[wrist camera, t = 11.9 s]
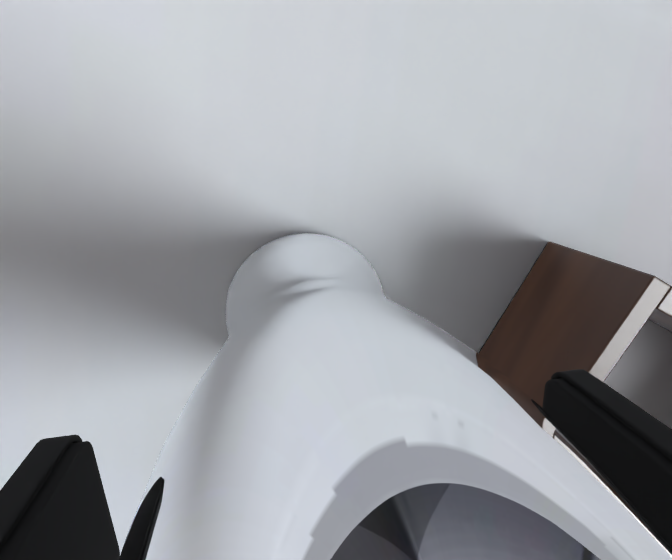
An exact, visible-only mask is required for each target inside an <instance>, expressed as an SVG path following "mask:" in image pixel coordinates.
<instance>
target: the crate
mask: <svg viewBox="0 0 672 560" xmlns="http://www.w3.org/2000/svg"><path fill="white" fill-rule="evenodd" d="M648 319H649V320H651V321H653V322H654V323H656V324H658V325H660V326H662V327H663V328H665V329H667V330H669V331H671V332H672V286H670V285H669V284H667V283H665V282H664V281H662V280H660V279H659V278H657V277H655V276H653V275H650V274H647V273H644V272H641V271H638V270H635V269H632V268H629V267H626V266H623V265H620V264H617V263H614V262H611V261H608V260H604V259H601V258H598V257H595V256H592V255H589V254H586V253H583V252H580V251H577V250H574V249H571V248H568V247H565V246H562V245H559V244H556V243H553V242H548V244H547V245H546V247H545V248H544V250H543V252H542V253H541V255H540V256H539V258H538V260H537V261H536V263H535V264H534V266H533V268H532V269H531V271H530V272H529V274H528V276H527V277H526V279H525V280H524V282H523V284H522V285H521V287H520V288H519V290H518V292H517V293H516V295H515V296H514V298H513V300H512V301H511V303H510V304H509V306H508V308H507V309H506V311H505V312H504V314H503V315H502V317H501V319H500V320H499V322H498V323H497V325H496V327H495V328H494V330H493V331H492V333H491V335H490V336H489V338H488V339H487V341H486V343H485V344H484V346H483V347H482V349H481V351H480V352H479V354H480V355H481V356H483V357H484V358H486V359H487V360H488V361H489V362H491V363H492V364H493V365H494V366H495V367H496V368H497V369H499V370H500V371H501V372H502V373H503V374H504V375H505V376H507V377H508V378H509V379H510V380H511V381H512V382H514V383H515V384H516V385H517V386H518V387H519V388H520V389H522V390H523V391H524V392H525V393H526V394H527V395H528V396H530V397H531V398H532V399H533V400H534V401H535V402H536V403H538V404H539V405H540V406H541V407H542V405H543V397H544V389H545V384H546V382H547V381H549V380H550V379H551V376H552V375H553V374H554V373H556V372H561V371H569V370H576V369H583V370H585V371H587V372H589V373H590V374H592V375H593V376H595V377H596V378H598V379H599V380H600V381H602V382H604V381H605V379H606V378H607V376H608V375H609V373H610V372H611V371H612V369H613V368H614V366H615V365H616V364H617V362H618V361H619V359H620V358H621V356H622V355H623V354H624V352H625V351H626V349H627V348H628V347H629V345H630V344H631V342H632V341H633V339H634V338H635V337H636V335H637V334H638V332H639V331H640V330H641V328H642V327H643V325H644V324H645V322H646V321H647V320H648Z"/></svg>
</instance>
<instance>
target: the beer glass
mask: <svg viewBox="0 0 672 560" xmlns="http://www.w3.org/2000/svg"><path fill="white" fill-rule="evenodd" d="M225 317H226V325H227V331H228V335H229V338H228V339H227V341H226V342H225V344H224V345H223V346H222V348H221V349H220V351H219V352H218V354H217V355H216V356H215V358H214V359H213V361H212V362H211V364H210V365H209V367H208V368H207V370H206V371H205V373H204V374H203V376H202V377H201V379H200V380H199V382H198V384H197V385H196V387H195V388H194V390H193V392H192V394H191V395H190V397H189V399H188V401H187V403H186V404H185V406H184V408H183V410H182V412H181V414H180V415H179V417H178V419H177V421H176V423H175V424H174V426H173V428H172V430H171V432H170V434H169V435H168V437H167V439H166V441H165V443H164V445H163V447H162V449H161V451H160V454H159V456H158V459H157V461H156V464H155V466H154V469H153V471H152V474H151V476H150V479H149V481H148V484H147V486H146V489H145V491H144V494H143V496H142V499H141V501H140V504H139V506H138V509H137V511H136V514H135V516H134V519H133V521H132V524H131V526H130V529H129V531H128V534H127V537H126V540H125V543H124V546H123V549H122V552H121V555H120V559H119V560H672V541H671V540H670V539H669V538H668V537H667V536H666V535H665V534H664V533H663V532H662V530H661V529H660V528H659V527H658V526H657V525H656V524H655V523H654V522H653V521H652V520H651V518H650V517H649V516H648V515H647V514H646V513H645V512H644V511H643V510H642V509H641V508H640V506H639V505H638V504H637V503H636V502H635V501H634V500H633V499H632V498H631V497H630V496H629V494H628V493H627V492H626V491H625V490H624V489H623V488H622V487H621V486H620V485H619V484H618V483H617V482H616V481H615V480H614V479H613V478H612V477H611V476H610V475H609V474H608V473H607V472H606V471H605V470H604V469H603V468H602V467H601V466H600V465H599V464H598V463H597V462H596V461H595V460H594V459H593V458H592V457H591V456H590V455H589V454H588V453H587V452H586V451H585V450H584V449H583V448H582V447H581V446H580V445H579V444H578V443H577V442H576V440H575V439H574V438H573V437H572V436H571V435H570V434H569V433H568V432H567V431H566V430H565V429H564V428H563V427H562V426H561V425H560V424H559V423H558V422H557V421H556V420H555V419H554V418H553V417H552V416H551V415H550V414H549V413H548V412H547V411H546V410H544V409H543V408H542V407H541V406H540V405H539V404H538V403H536V402H535V401H534V400H533V399H532V398H531V397H530V396H528V395H527V394H526V393H525V392H524V391H523V390H522V389H520V388H519V387H518V386H517V385H516V384H515V383H514V382H512V381H511V380H510V379H509V378H508V377H507V376H505V375H504V374H503V373H502V372H501V371H500V370H499V369H497V368H496V367H495V366H494V365H493V364H492V363H491V362H489V361H488V360H487V359H486V358H484V357H483V356H481V355H480V354H479V353H477V352H476V351H474V350H473V349H471V348H470V347H468V346H467V345H465V344H464V343H462V342H461V341H459V340H458V339H456V338H455V337H453V336H452V335H450V334H449V333H447V332H446V331H445V330H443V329H442V328H440V327H439V326H437V325H435V324H434V323H432V322H430V321H428V320H426V319H425V318H423V317H421V316H419V315H417V314H416V313H414V312H412V311H410V310H408V309H407V308H405V307H403V306H401V305H399V304H397V303H395V302H393V301H391V300H389V299H387V298H386V297H385V294H384V291H383V287H382V284H381V282H380V279H379V277H378V275H377V273H376V271H375V270H374V268H373V267H372V265H371V264H370V263H369V261H368V260H367V259H366V258H365V257H364V256H363V255H362V254H361V253H360V252H359V251H357V250H356V249H355V248H353V247H352V246H350V245H349V244H347V243H345V242H343V241H341V240H339V239H336V238H334V237H331V236H327V235H322V234H315V233H300V234H293V235H288V236H284V237H281V238H278V239H276V240H273V241H271V242H269V243H267V244H265V245H264V246H262V247H260V248H259V249H258V250H256V251H255V252H254V253H253V254H251V255H250V256H249V257H248V258H247V259H246V260H245V261H244V263H243V264H242V265H241V266H240V268H239V269H238V271H237V272H236V274H235V276H234V278H233V280H232V282H231V284H230V287H229V290H228V294H227V299H226V308H225Z"/></svg>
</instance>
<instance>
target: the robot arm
mask: <svg viewBox="0 0 672 560" xmlns="http://www.w3.org/2000/svg"><path fill="white" fill-rule="evenodd" d="M542 408H543V409H544V410H546V411H547V412H548V413H549V414H550V415H551V416H552V417H553V418H554V419H555V420H556V421H557V422H558V423H559V424H560V425H561V426H562V427H563V428H564V429H565V430H566V431H567V432H568V433H569V434H570V435H571V436H572V437H573V438H574V439H575V440H576V442H577V443H578V444H579V445H580V446H581V447H582V448H583V449H584V450H585V451H586V452H587V453H588V454H589V455H590V456H591V457H592V458H593V459H594V460H595V461H596V462H597V463H598V464H599V465H600V466H601V467H602V468H603V469H604V470H605V471H606V472H607V473H608V474H609V475H610V476H611V477H612V478H613V479H614V480H615V481H616V482H617V483H618V484H619V485H620V486H621V487H622V488H623V489H624V490H625V491H626V492H627V493H628V494H629V496H630V497H631V498H632V499H633V500H634V501H635V502H636V503H637V504H638V505H639V506H640V508H641V509H642V510H643V511H644V512H645V513H646V514H647V515H648V516H649V517H650V518H651V520H652V521H653V522H654V523H655V524H656V525H657V526H658V527H659V528H660V529H661V530H662V532H663V533H664V534H665V535H666V536H667V537H668V538H669V539H670V540H671V541H672V429H670V428H669V427H667V426H666V425H664V424H663V423H661V422H660V421H658V420H657V419H656V418H654V417H653V416H651V415H650V414H648V413H647V412H645V411H644V410H643V409H641V408H640V407H638V406H637V405H635V404H634V403H632V402H631V401H629V400H628V399H627V398H625V397H624V396H622V395H621V394H619V393H618V392H616V391H615V390H614V389H612V388H611V387H609V386H608V385H606V384H605V383H603V382H602V381H600V380H599V379H598V378H596V377H595V376H593V375H592V374H590V373H589V372H587V371H585V370H583V369H576V370H569V371H561V372H556V373H554V374H553V375H552V376H551V379H550V380H549V381H547V382H546V384H545V389H544V397H543V405H542ZM119 559H120V552H119V546H118V543H117V539H116V535H115V531H114V527H113V523H112V520H111V516H110V512H109V508H108V504H107V501H106V497H105V493H104V489H103V485H102V481H101V478H100V474H99V470H98V466H97V462H96V458H95V455H94V451H93V447H92V445H91V443H90V442H88V441H86V442H82V439H81V438H80V437H79V436H78V435H70V436H62V437H54V438H47V439H42V440H40V441H39V442H38V443H37V444H36V445H35V447H34V448H33V449H32V450H31V452H30V453H29V454H28V456H27V457H26V458H25V459H24V461H23V462H22V463H21V465H20V466H19V467H18V469H17V470H16V471H15V472H14V474H13V475H12V476H11V478H10V479H9V480H8V481H7V483H6V484H5V485H4V487H3V488H2V489H1V490H0V560H119Z"/></svg>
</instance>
